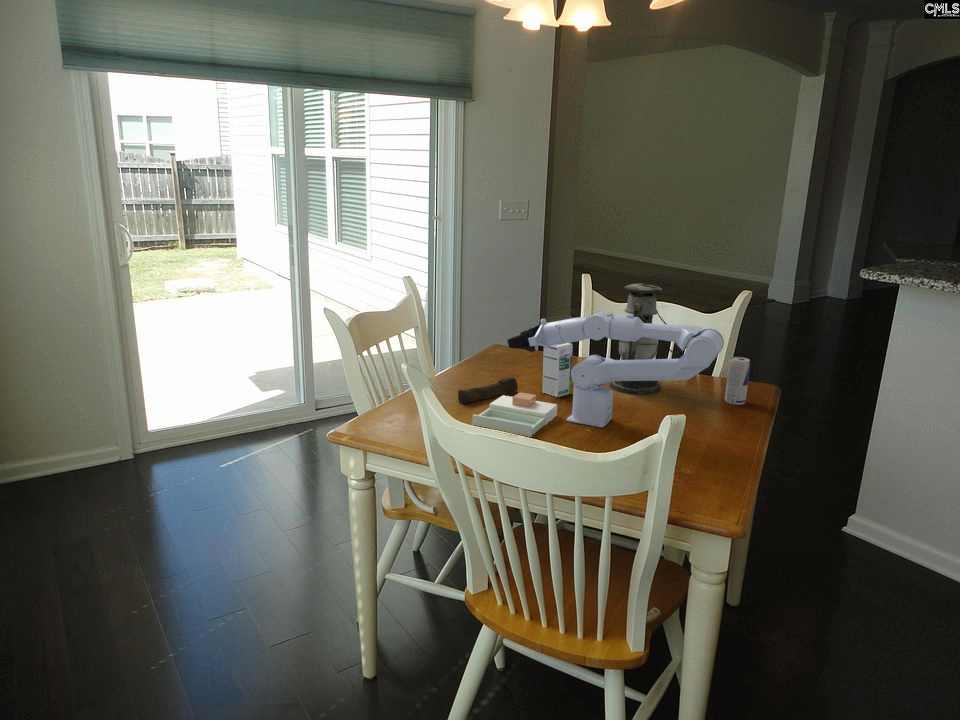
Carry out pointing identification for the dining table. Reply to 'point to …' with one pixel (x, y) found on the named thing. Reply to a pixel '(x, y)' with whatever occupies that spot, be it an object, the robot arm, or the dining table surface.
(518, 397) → the terracotta tile
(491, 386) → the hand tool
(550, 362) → the syrup box
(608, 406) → the robot arm
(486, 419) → the tray
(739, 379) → the energy drink
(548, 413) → the white drawer casing
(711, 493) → the dining table surface
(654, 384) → the lantern
